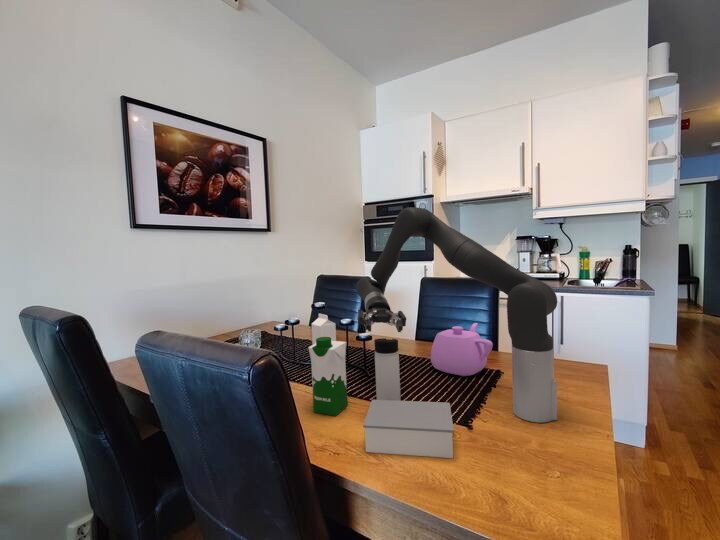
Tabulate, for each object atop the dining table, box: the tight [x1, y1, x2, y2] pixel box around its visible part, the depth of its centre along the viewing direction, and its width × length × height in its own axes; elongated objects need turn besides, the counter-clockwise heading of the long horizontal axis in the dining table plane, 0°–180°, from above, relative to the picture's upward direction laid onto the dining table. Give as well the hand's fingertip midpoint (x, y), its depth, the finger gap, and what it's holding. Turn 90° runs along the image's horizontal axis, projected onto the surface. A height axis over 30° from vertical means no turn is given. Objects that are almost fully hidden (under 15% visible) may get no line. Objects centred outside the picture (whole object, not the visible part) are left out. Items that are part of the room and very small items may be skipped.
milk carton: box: [308, 337, 349, 417], centre depth 94 cm, size 9×9×20 cm
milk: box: [311, 313, 337, 345], centre depth 117 cm, size 6×6×22 cm
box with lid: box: [362, 399, 455, 459], centre depth 77 cm, size 19×13×6 cm
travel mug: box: [374, 338, 402, 401], centre depth 90 cm, size 6×7×20 cm
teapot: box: [430, 322, 494, 377], centre depth 120 cm, size 23×21×15 cm
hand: (385, 329), depth 96 cm, fingers open, 8 cm apart
